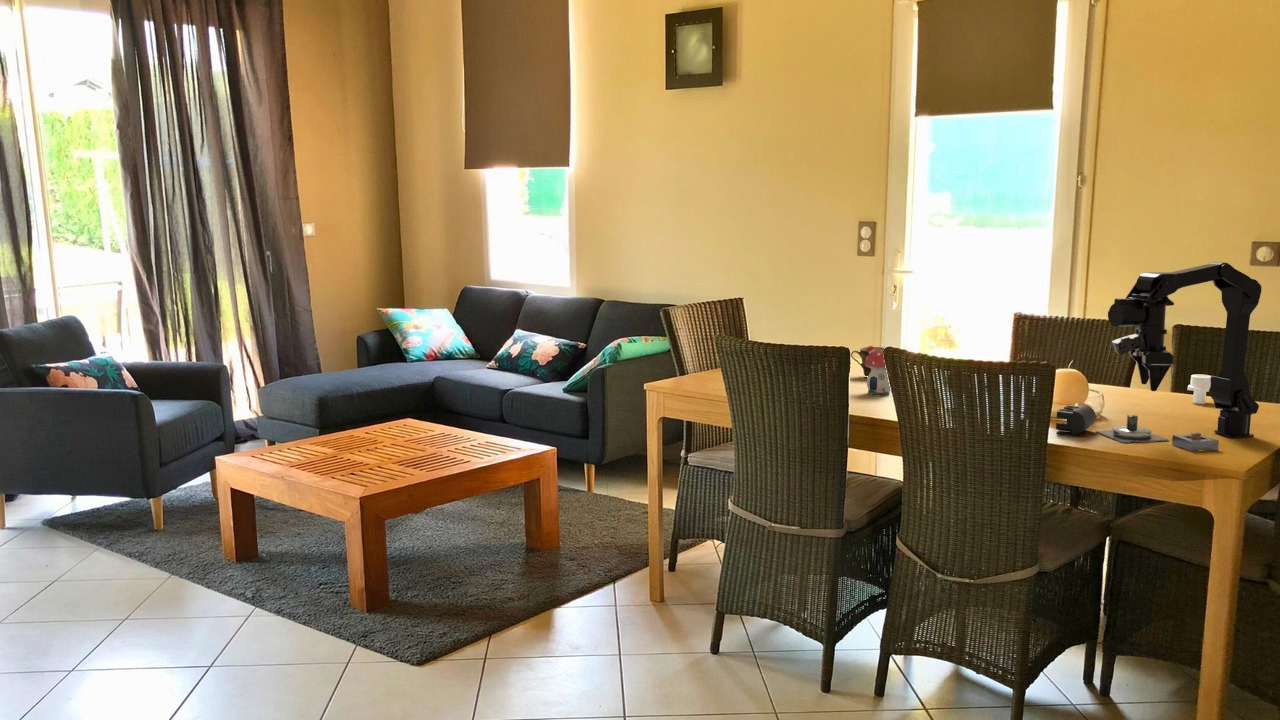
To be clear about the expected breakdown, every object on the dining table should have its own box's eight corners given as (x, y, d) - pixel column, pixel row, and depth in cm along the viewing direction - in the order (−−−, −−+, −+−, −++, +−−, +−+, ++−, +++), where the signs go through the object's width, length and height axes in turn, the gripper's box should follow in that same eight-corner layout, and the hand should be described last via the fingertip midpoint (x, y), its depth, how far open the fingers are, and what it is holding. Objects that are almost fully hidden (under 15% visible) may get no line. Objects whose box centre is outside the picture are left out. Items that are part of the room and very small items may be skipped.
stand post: (1195, 446, 247) (1196, 432, 246) (1202, 448, 244) (1203, 434, 244) (1187, 446, 246) (1188, 432, 246) (1193, 448, 244) (1194, 434, 244)
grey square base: (1198, 443, 249) (1199, 433, 249) (1218, 450, 242) (1218, 440, 242) (1172, 444, 248) (1172, 435, 248) (1191, 451, 241) (1191, 441, 241)
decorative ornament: (860, 392, 321) (861, 345, 318) (875, 390, 324) (876, 344, 322) (881, 397, 313) (883, 349, 311) (897, 395, 316) (898, 347, 314)
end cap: (1084, 438, 256) (1085, 412, 255) (1055, 434, 261) (1056, 409, 260) (1095, 431, 264) (1096, 405, 263) (1067, 427, 268) (1068, 402, 267)
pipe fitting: (1217, 404, 295) (1219, 377, 294) (1192, 404, 295) (1194, 377, 294) (1205, 400, 301) (1207, 373, 300) (1181, 400, 301) (1183, 374, 300)
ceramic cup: (887, 375, 352) (887, 346, 351) (891, 380, 342) (892, 351, 341) (849, 375, 353) (849, 346, 352) (852, 380, 343) (852, 351, 342)
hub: (1138, 430, 264) (1140, 410, 263) (1168, 441, 252) (1169, 419, 251) (1095, 432, 262) (1096, 412, 261) (1123, 443, 250) (1124, 421, 250)
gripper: (1107, 320, 258) (1105, 380, 261) (1124, 329, 240) (1121, 394, 243) (1155, 319, 256) (1152, 380, 258) (1176, 329, 238) (1172, 395, 240)
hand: (1148, 387), depth 250 cm, fingers open, 9 cm apart
